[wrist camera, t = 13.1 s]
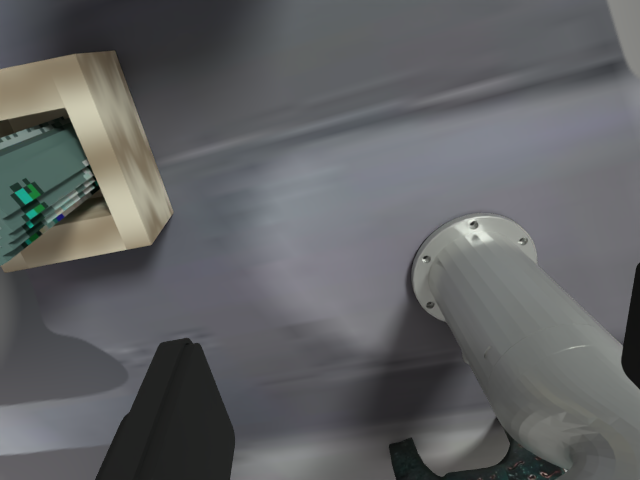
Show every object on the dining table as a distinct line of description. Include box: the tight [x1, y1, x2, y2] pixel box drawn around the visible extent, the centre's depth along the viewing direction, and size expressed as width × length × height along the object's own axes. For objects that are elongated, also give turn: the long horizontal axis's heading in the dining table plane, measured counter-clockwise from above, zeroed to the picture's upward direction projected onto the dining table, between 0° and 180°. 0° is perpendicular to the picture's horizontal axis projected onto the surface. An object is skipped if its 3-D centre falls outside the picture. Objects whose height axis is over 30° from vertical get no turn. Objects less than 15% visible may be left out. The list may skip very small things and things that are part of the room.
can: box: [0, 116, 100, 266], centre depth 29 cm, size 6×6×15 cm
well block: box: [0, 51, 174, 273], centre depth 34 cm, size 14×12×7 cm
